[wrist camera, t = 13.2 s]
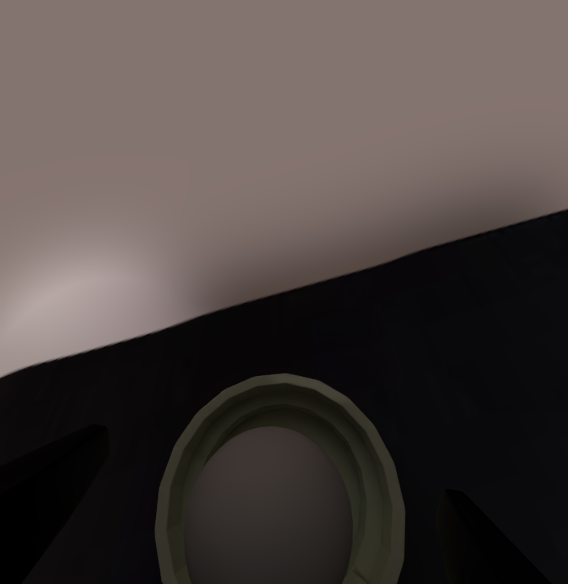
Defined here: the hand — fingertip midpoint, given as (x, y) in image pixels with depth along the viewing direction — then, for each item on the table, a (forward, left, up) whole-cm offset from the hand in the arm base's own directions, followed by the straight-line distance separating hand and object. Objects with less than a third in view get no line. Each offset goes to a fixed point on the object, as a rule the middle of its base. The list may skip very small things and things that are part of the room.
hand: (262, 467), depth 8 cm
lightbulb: (-1, -1, -13) cm, 13 cm away
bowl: (-1, -1, -13) cm, 13 cm away
